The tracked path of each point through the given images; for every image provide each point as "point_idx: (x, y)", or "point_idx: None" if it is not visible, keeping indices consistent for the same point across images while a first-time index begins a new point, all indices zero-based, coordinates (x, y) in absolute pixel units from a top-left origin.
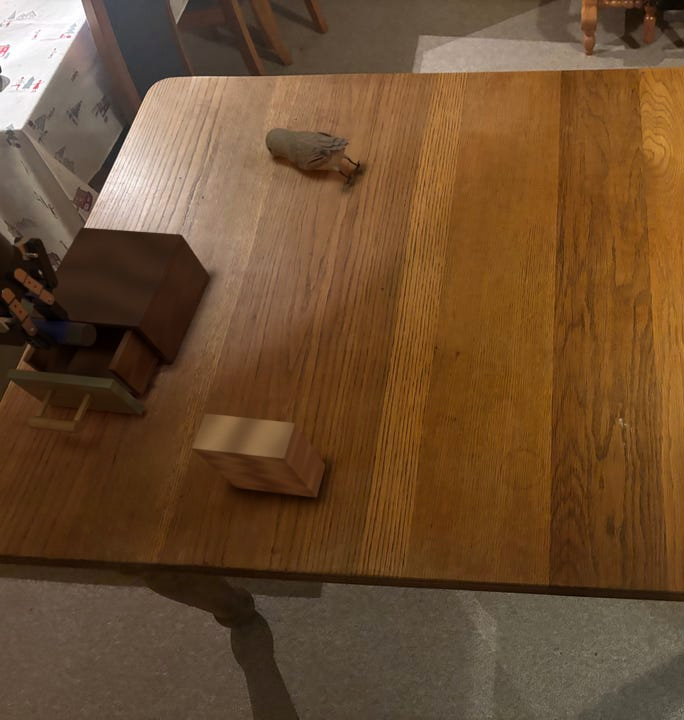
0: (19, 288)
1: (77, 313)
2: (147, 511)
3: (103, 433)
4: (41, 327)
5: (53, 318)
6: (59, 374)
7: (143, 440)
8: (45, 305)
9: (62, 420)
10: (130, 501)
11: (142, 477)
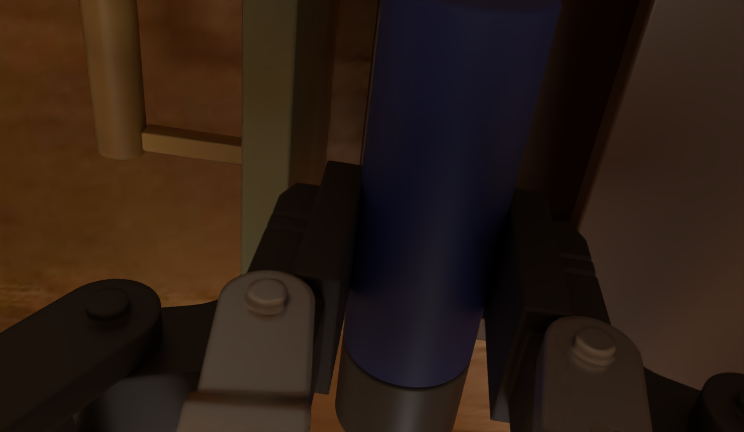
0: None
1: (660, 138)
2: (27, 252)
3: (229, 64)
4: (412, 254)
5: (498, 278)
6: (287, 109)
7: (221, 198)
8: (510, 416)
9: (124, 99)
10: (39, 205)
11: (111, 220)
